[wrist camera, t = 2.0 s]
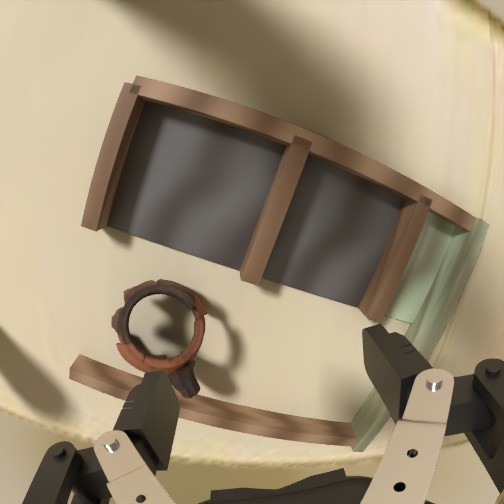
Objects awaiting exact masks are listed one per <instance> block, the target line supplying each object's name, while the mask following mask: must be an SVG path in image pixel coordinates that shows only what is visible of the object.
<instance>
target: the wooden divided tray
mask: <svg viewBox="0 0 504 504" xmlns="http://www.w3.org/2000/svg"><path fill="white" fill-rule="evenodd" d="M81 226H82V227H85V228H88V229H91V230H94V231H98V230H100V229H102V228H104V227H105V226H109V227H112V228H115V229H118V230H121V231H124V232H127V233H129V234H132V235H135V236H138V237H141V238H144V239H147V240H150V241H153V242H156V243H159V244H162V245H165V246H168V247H171V248H174V249H177V250H180V251H183V252H186V253H189V254H192V255H195V256H198V257H201V258H204V259H207V260H210V261H213V262H216V263H219V264H222V265H225V266H228V267H231V268H234V269H237V270H240V278H241V280H242V281H245V282H248V283H251V284H254V285H259V283H260V280H261V277H262V278H265V279H268V280H271V281H275V282H278V283H281V284H284V285H287V286H290V287H294V288H297V289H300V290H303V291H306V292H309V293H313V294H316V295H319V296H322V297H326V298H329V299H332V300H335V301H339V302H342V303H345V304H348V305H352V306H355V307H358V308H359V309H360V310H361V311H362V313H363V314H364V315H365V316H366V317H367V319H370V320H374V321H377V322H381V320H382V318H383V316H384V315H385V316H388V317H392V318H395V319H398V320H402V321H405V322H408V323H411V325H410V327H409V329H408V331H407V333H406V334H405V337H406V338H407V339H408V340H409V341H410V342H411V344H412V345H413V346H414V347H415V348H416V350H418V351H419V352H420V354H421V355H422V356H423V357H424V358H425V359H426V360H427V359H428V358H429V356H430V354H431V352H432V351H433V349H434V347H435V345H436V344H437V342H438V340H439V338H440V336H441V334H442V333H443V331H444V329H445V327H446V325H447V323H448V321H449V319H450V317H451V315H452V313H453V311H454V309H455V307H456V305H457V303H458V301H459V299H460V297H461V294H462V292H463V290H464V288H465V286H466V283H467V281H468V279H469V276H470V274H471V272H472V269H473V267H474V265H475V262H476V260H477V257H478V255H479V252H480V249H481V247H482V244H483V241H484V239H485V236H486V233H487V230H488V227H489V224H488V223H486V222H485V221H483V220H482V219H479V218H475V217H474V216H472V215H471V214H469V213H468V212H466V211H464V210H463V209H461V208H460V207H458V206H456V205H455V204H453V203H451V202H450V201H448V200H446V199H445V198H443V197H441V196H440V195H438V194H436V193H435V192H433V191H431V190H429V189H428V188H426V187H424V186H422V185H421V184H419V183H417V182H415V181H413V180H412V179H410V178H408V177H406V176H404V175H402V174H400V173H398V172H397V171H395V170H393V169H391V168H389V167H387V166H385V165H383V164H381V163H379V162H377V161H375V160H373V159H371V158H369V157H367V156H365V155H363V154H361V153H358V152H356V151H354V150H352V149H350V148H348V147H346V146H343V145H341V144H339V143H337V142H334V141H332V140H330V139H328V138H325V137H323V136H321V135H318V134H316V133H314V132H311V131H309V130H306V129H304V128H302V127H299V126H297V125H294V124H292V123H289V122H286V121H284V120H281V119H279V118H276V117H273V116H271V115H268V114H265V113H263V112H260V111H257V110H254V109H251V108H248V107H246V106H243V105H240V104H237V103H234V102H231V101H228V100H224V99H221V98H218V97H215V96H212V95H208V94H205V93H202V92H198V91H195V90H191V89H188V88H184V87H181V86H177V85H173V84H169V83H165V82H161V81H157V80H153V79H149V78H145V77H141V76H136V78H135V80H134V82H133V84H131V83H126V82H125V83H124V85H123V88H122V90H121V93H120V95H119V98H118V101H117V103H116V106H115V109H114V111H113V114H112V117H111V120H110V123H109V126H108V129H107V132H106V135H105V138H104V141H103V144H102V147H101V150H100V154H99V157H98V160H97V164H96V167H95V171H94V175H93V178H92V182H91V186H90V190H89V194H88V198H87V202H86V206H85V210H84V215H83V219H82V224H81ZM69 379H71V380H74V381H76V382H78V383H81V384H83V385H86V386H88V387H90V388H93V389H95V390H98V391H101V392H103V393H106V394H108V395H111V396H114V397H116V398H119V399H122V400H125V401H126V399H127V396H128V394H129V392H130V391H131V390H132V389H133V388H134V387H135V386H136V385H137V384H141V382H142V380H143V378H141V377H138V376H135V375H132V374H129V373H126V372H124V371H121V370H118V369H115V368H113V367H110V366H107V365H105V364H102V363H100V362H97V361H95V360H92V359H90V358H87V357H85V356H82V355H80V354H79V356H78V357H77V359H76V360H75V362H74V363H73V364H72V366H71V367H70V376H69ZM173 389H174V391H175V393H176V396H177V398H178V401H179V407H180V412H179V418H183V419H186V420H190V421H194V422H198V423H202V424H206V425H210V426H214V427H219V428H223V429H228V430H233V431H238V432H243V433H248V434H253V435H259V436H265V437H271V438H277V439H284V440H291V441H299V442H307V443H316V444H327V445H339V446H351V448H352V450H353V452H363V451H364V450H365V449H366V448H367V446H368V445H369V444H370V442H371V441H372V440H373V439H374V437H375V436H376V435H377V434H378V432H379V431H380V430H381V428H382V427H383V426H384V424H385V423H386V422H387V420H388V419H389V417H390V416H391V415H390V413H389V411H388V410H387V408H386V406H385V404H384V402H383V401H382V399H381V397H380V395H379V394H378V392H377V390H376V388H374V389H373V391H372V392H371V394H370V395H369V397H368V398H367V400H366V401H365V403H364V404H363V406H362V407H361V409H360V410H359V412H358V413H357V415H356V416H355V418H354V419H353V421H352V422H351V423H342V422H333V421H325V420H318V419H311V418H304V417H298V416H292V415H286V414H280V413H275V412H270V411H264V410H259V409H255V408H250V407H245V406H241V405H236V404H232V403H228V402H223V401H219V400H215V399H211V398H208V397H204V396H200V395H195V396H193V397H192V398H184V397H182V396H181V394H180V392H179V391H177V390H176V389H175V388H173Z"/></svg>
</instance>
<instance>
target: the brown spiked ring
mask: <svg viewBox="0 0 504 504" xmlns="http://www.w3.org/2000/svg"><path fill="white" fill-rule="evenodd" d="M153 294H165V295H169V296H172V297H175V298H177V299H178V300H180V301H181V302H182V303H184V304H185V305H186V307H187V308H188V309H190V310H191V309H192V312H193V314H194V316H195V322H194V335H193V338H192V341H191V343H190V345H189V346H188V347H187V349H186V350H185V351H183V352H182V353H181V354H180V355H178V356H176V357H173V358H169V359H166V356H165V355H158V356H156V355H149V354H146V353H143V352H142V351H141V350H140V349H139V348H138V347H137V346H136V345H135V343H134V342H133V340H132V339H131V336H130V333H129V326H128V325H129V317H130V314H131V311H132V309H133V307H134V306H135V305H136V304H137V303H138V302H139V301H140V300H141V299H143V298H145V297H147V296H150V295H153ZM124 301H125V305H124V307H122V308H119V309H118V310H117V311H116V313H115V315H114V316H113V317H112V327H113V328H114V329H115V331H116V332H117V334H118V337H119V340H120V342H121V343H117V344H116V345H117V348H118V351H119V352H120V354H121V355H122V357H123V358H124V359H125V360H126V361H127V362H128V363H130V364H131V365H132V366H134V367H135V368H137V369H139V370H141V371H143V372H145V373H146V372H149V371H157V370H165V372H166V373H167V375H168V377H169V380H170V382H171V384H172V385H173V386H174V388H175V389H176V390H177V391H179V392H180V394H181V396H182V397H184V398H192V397H193V396H195V395H197V394H198V392H199V391H200V386H199V384H198V382H197V380H196V378H195V375H194V373H193V367H194V364H195V361H193V360H192V359H194V357H195V356H196V354H197V352H198V350H199V348H200V346H201V344H202V340H203V336H204V333H205V318H204V315H206V314H207V311H206V309H205V307H204V304H203V303H202V301H201V299H200V298H199V297H198V296H196V293H195V292H194V291H193V290H191V289H189V288H187V287H185V286H183V285H181V284H179V283H176V282H173V281H168V280H162V279H160V280H158V281H157V282H155V281H147V282H144V283H142V284H139V285H138V286H135V287H133V288H131V289H128V290H126V291H124Z"/></svg>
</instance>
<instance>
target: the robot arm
mask: <svg viewBox="0 0 504 504" xmlns="http://www.w3.org/2000/svg"><path fill="white" fill-rule="evenodd" d="M362 337H363V353H364V365H365V369H366V372H367V374H368V376H369V378H370V380H371V381H372V383H373V385H374V387H375V388H376V390H377V392H378V394H379V395H380V397H381V399H382V401H383V402H384V404H385V406H386V408H387V410H388V411H389V413H390V415H391V417H392V419H393V420H394V422H395V424H396V426H395V429H394V432H393V434H392V437H391V439H390V441H389V444H388V446H387V449H386V451H385V453H384V456H383V458H382V460H381V462H380V465H379V467H378V469H377V471H376V473H375V476H374V478H370V477H363V476H346V474H345V471H344V468H342V469H338V470H334V471H330V472H327V473H322V474H318V475H314V476H310V477H308V478H305V479H303V480H301V481H298V482H296V483H293V484H291V485H288V486H286V487H283V488H280V489H275V490H272V489H254V488H235V489H226V490H212V491H211V499H210V500H206V501H204V502H201V503H199V504H434V503H432V502H429V501H427V500H426V497H427V494H428V491H429V488H430V485H431V481H432V478H433V475H434V472H435V469H436V465H437V462H438V458H439V454H440V450H441V447H442V443H443V438H444V436H448V435H454V434H460V433H464V434H465V435H466V437H467V438H468V440H469V442H470V443H471V445H472V446H473V448H474V450H475V451H476V453H477V455H478V456H479V458H480V460H481V461H482V463H483V464H484V466H485V468H486V470H487V472H488V473H489V475H490V477H491V479H492V480H493V482H494V484H495V486H496V487H497V489H498V491H499V492H500V495H499V497H498V498H497V500H496V503H495V504H504V361H502V360H499V359H486V360H483V361H481V362H480V363H479V364H478V365H477V366H476V368H475V372H474V374H471V375H466V376H460V377H453V376H452V374H451V373H449V372H448V371H446V370H444V369H438V368H433V367H432V366H431V365H430V364H429V363H428V362H427V360H426V359H425V358H424V357H423V356H422V355H421V354H420V352H419V351H418V350H416V348H415V347H414V346H413V345H412V344H411V342H410V341H409V340H408V339H407V338H406V337H405V336H403V335H401V334H399V333H396V332H394V333H390V334H389V333H388V332H387V330H386V329H385V328H384V327H383V326H382V325H381V324H379V325H375V326H372V327H368V328H365V329H363V331H362ZM179 412H180V407H179V401H178V398H177V396H176V393H175V391H174V389H173V387H172V384H171V382H170V380H169V377H168V375H167V373H166V372H165V370H157V371H149V372H146V373H145V375H144V377H143V380H142V382H141V384H137V385H136V386H135V387H134V388H133V389H132V390H131V391H130V392H129V394H128V396H127V399H126V402H125V403H124V405H123V409H122V410H121V412H120V415H119V417H118V419H117V422H116V424H115V426H114V429H113V431H109V432H106V433H104V434H102V435H101V436H100V437H99V438H98V439H97V440H96V441H95V443H94V447H91V448H87V449H82V450H76V448H75V447H74V445H73V444H72V443H70V442H66V441H64V442H59V443H56V444H54V445H53V446H51V447H50V448H49V449H48V450H47V452H46V454H45V456H44V458H43V460H42V462H41V464H40V466H39V468H38V470H37V472H36V474H35V477H34V479H33V481H32V483H31V485H30V487H29V490H28V492H27V494H26V497H25V499H24V501H23V503H22V504H67V502H68V499H69V496H70V493H71V490H72V491H73V492H74V496H73V500H72V502H71V504H109V500H110V498H111V497H113V499H114V501H115V502H116V504H175V502H174V501H173V500H172V498H171V497H170V496H169V494H168V493H167V492H166V491H165V489H164V488H163V487H162V485H161V484H160V483H159V481H158V480H157V479H156V477H155V475H156V471H157V470H167V468H168V464H169V459H170V454H171V449H172V445H173V440H174V435H175V430H176V426H177V421H178V417H179Z"/></svg>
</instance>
